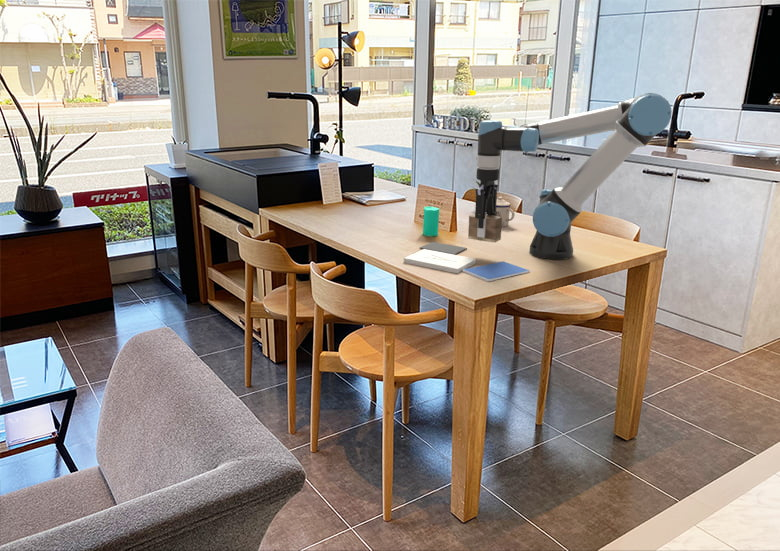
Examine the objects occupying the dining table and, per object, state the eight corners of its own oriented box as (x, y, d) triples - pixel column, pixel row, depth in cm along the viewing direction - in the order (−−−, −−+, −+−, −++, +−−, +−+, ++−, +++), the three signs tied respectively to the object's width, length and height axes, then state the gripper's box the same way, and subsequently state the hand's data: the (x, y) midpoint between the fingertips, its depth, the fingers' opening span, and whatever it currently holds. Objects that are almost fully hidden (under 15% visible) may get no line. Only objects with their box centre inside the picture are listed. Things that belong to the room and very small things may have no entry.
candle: (420, 232, 251) (421, 203, 247) (434, 231, 253) (435, 202, 249) (426, 236, 245) (427, 206, 241) (440, 235, 247) (442, 205, 244)
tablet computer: (503, 264, 215) (503, 260, 215) (531, 273, 206) (531, 269, 205) (460, 273, 204) (461, 269, 204) (488, 283, 195) (488, 279, 194)
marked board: (475, 263, 213) (476, 258, 213) (457, 273, 202) (457, 268, 201) (423, 253, 223) (424, 248, 223) (403, 262, 212) (403, 257, 211)
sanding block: (500, 239, 219) (502, 216, 217) (494, 242, 215) (496, 219, 212) (474, 235, 224) (475, 213, 222) (468, 238, 220) (469, 216, 218)
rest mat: (466, 249, 230) (466, 247, 229) (454, 255, 221) (454, 254, 221) (432, 242, 237) (432, 241, 236) (419, 248, 228) (419, 247, 228)
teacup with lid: (482, 223, 268) (485, 196, 265) (495, 220, 275) (497, 194, 271) (506, 229, 261) (509, 201, 257) (518, 225, 267) (521, 198, 263)
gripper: (488, 164, 221) (485, 228, 228) (466, 170, 207) (463, 239, 214) (508, 165, 217) (504, 231, 224) (487, 172, 203) (483, 242, 210)
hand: (484, 235), depth 219 cm, fingers closed on sanding block, 5 cm apart
